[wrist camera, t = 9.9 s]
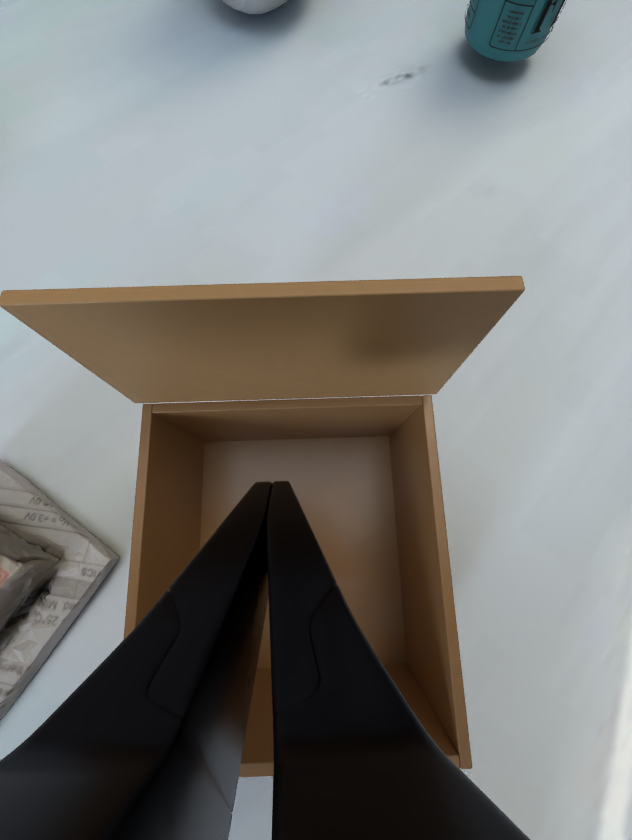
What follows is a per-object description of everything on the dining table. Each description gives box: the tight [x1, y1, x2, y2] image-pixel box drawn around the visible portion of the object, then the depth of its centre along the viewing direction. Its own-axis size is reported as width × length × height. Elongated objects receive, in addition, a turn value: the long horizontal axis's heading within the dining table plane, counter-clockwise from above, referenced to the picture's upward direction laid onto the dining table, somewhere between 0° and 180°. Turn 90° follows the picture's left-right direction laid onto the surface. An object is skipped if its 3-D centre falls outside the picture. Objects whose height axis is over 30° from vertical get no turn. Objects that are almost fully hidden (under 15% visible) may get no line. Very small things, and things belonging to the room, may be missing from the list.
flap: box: [0, 276, 525, 403], centre depth 11 cm, size 6×12×1 cm
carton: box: [124, 395, 472, 777], centre depth 17 cm, size 13×12×7 cm
